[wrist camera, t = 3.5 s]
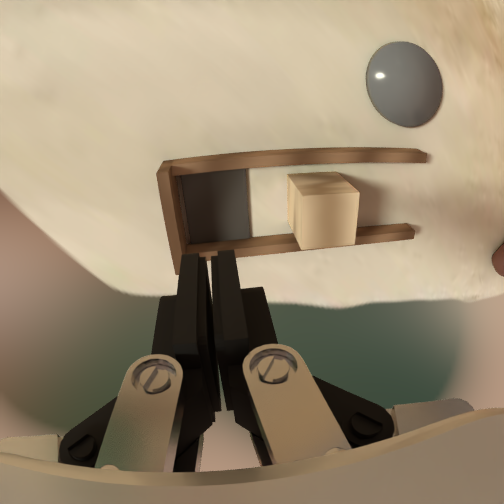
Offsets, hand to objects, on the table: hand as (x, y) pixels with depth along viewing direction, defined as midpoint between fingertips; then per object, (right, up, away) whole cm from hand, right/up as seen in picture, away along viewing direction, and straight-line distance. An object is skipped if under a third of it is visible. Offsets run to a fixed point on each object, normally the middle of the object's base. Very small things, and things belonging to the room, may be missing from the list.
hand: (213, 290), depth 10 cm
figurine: (+42, +4, +28) cm, 51 cm away
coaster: (+17, +18, +16) cm, 29 cm away
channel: (+6, +7, +21) cm, 23 cm away
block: (+7, +7, +21) cm, 24 cm away
